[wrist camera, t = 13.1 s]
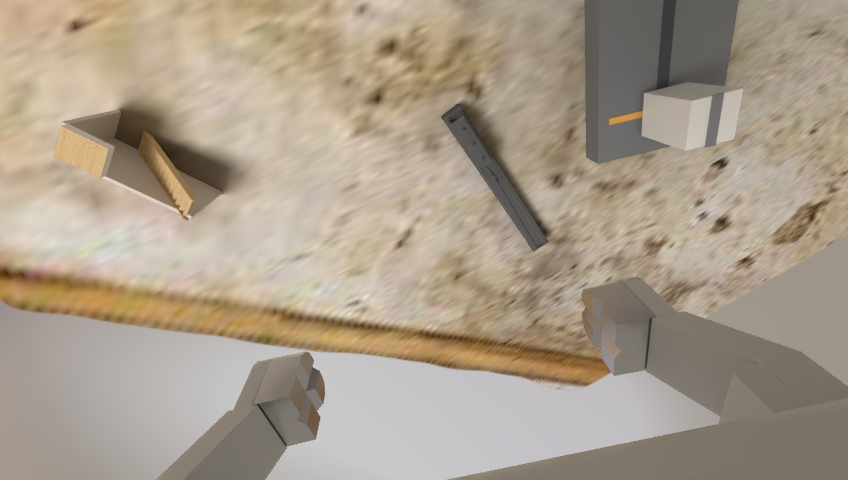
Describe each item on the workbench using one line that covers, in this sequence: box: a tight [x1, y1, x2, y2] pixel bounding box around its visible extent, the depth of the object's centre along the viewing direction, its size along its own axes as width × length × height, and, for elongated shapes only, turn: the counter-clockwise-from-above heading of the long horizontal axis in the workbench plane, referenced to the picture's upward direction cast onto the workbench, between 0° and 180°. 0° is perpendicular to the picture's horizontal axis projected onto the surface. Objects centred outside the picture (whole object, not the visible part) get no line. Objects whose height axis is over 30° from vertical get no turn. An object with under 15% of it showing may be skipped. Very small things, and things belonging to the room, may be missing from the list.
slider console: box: [585, 0, 738, 164], centre depth 32 cm, size 22×12×3 cm, turn 13°
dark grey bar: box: [441, 104, 548, 251], centre depth 38 cm, size 19×3×4 cm, turn 36°
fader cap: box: [641, 82, 744, 151], centre depth 31 cm, size 4×4×6 cm
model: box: [54, 110, 222, 221], centre depth 33 cm, size 3×11×8 cm, turn 57°
